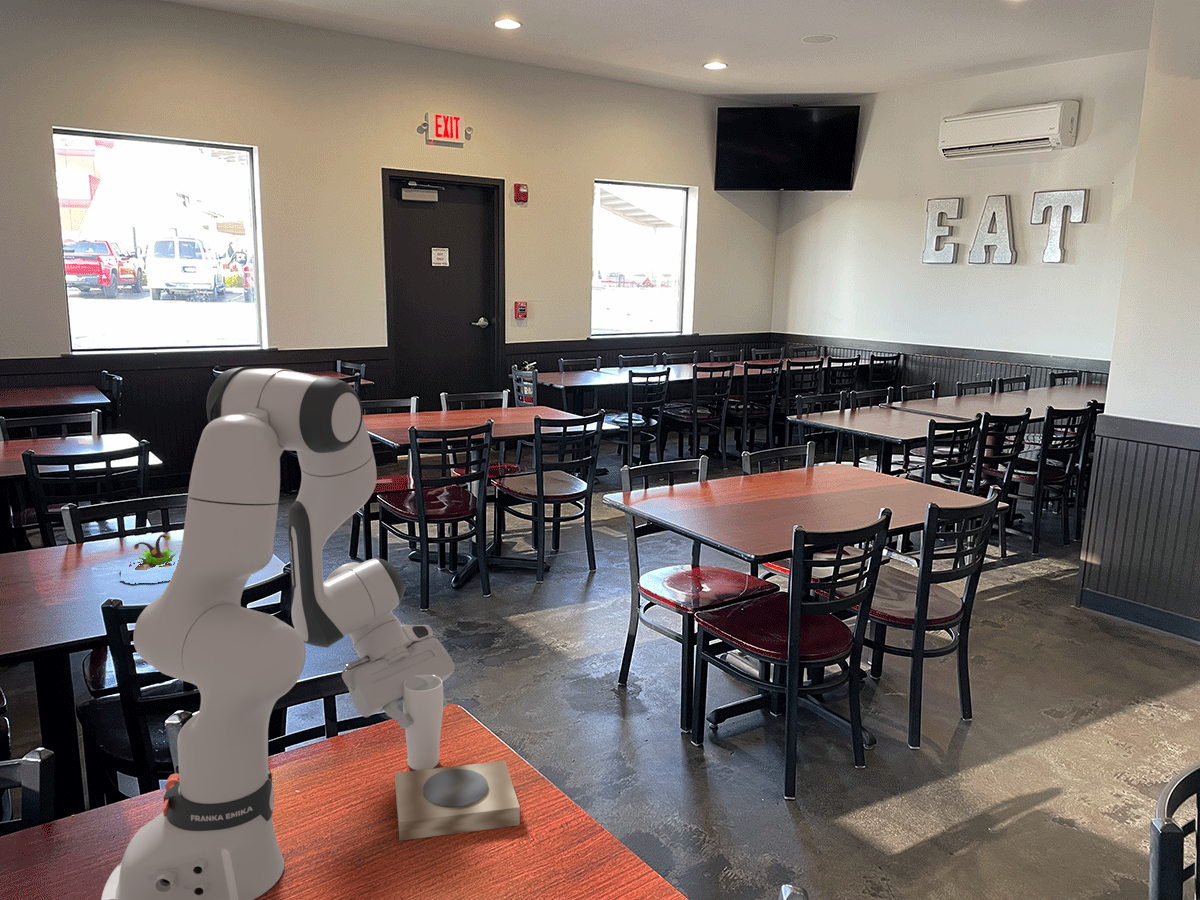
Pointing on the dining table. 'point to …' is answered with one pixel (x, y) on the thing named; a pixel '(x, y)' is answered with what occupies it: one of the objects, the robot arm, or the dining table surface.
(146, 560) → the plant
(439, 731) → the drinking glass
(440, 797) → the block
